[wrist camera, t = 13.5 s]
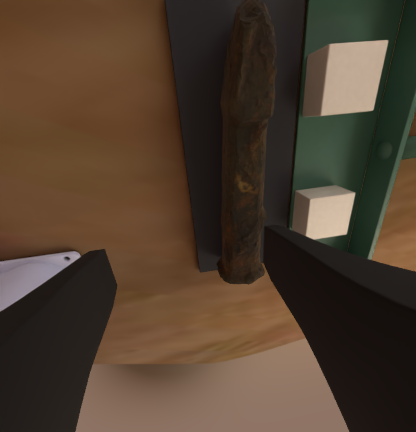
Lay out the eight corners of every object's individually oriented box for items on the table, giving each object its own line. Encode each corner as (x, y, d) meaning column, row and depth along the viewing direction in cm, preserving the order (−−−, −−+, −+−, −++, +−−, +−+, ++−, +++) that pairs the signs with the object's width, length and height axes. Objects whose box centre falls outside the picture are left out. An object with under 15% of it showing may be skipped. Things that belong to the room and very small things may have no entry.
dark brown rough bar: (253, 258, 21) (271, 290, 17) (214, 261, 21) (224, 296, 17) (277, 19, 14) (321, -28, 10) (217, 15, 13) (237, -36, 9)
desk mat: (199, 270, 22) (199, 272, 21) (164, -1, 13) (164, -4, 13) (282, 257, 22) (284, 259, 22) (302, -7, 14) (306, -11, 13)
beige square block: (291, 228, 21) (305, 241, 19) (295, 190, 19) (310, 199, 17) (329, 223, 21) (346, 234, 19) (336, 184, 19) (355, 192, 17)
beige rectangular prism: (301, 117, 17) (320, 116, 14) (307, 55, 15) (329, 43, 13) (348, 112, 17) (374, 110, 15) (359, 51, 15) (389, 39, 13)
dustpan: (284, 264, 23) (297, 281, 20) (308, -28, 13) (340, -64, 11) (419, 242, 24) (447, 256, 22) (529, -36, 15) (603, -69, 12)
